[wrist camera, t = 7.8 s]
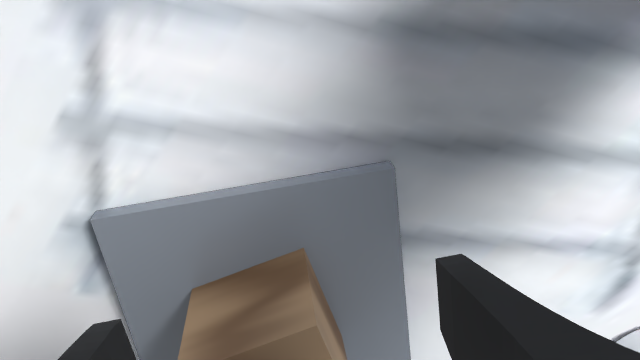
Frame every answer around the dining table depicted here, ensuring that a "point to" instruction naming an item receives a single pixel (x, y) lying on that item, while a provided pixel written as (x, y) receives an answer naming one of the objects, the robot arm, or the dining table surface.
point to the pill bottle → (631, 341)
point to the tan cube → (262, 315)
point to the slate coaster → (264, 254)
